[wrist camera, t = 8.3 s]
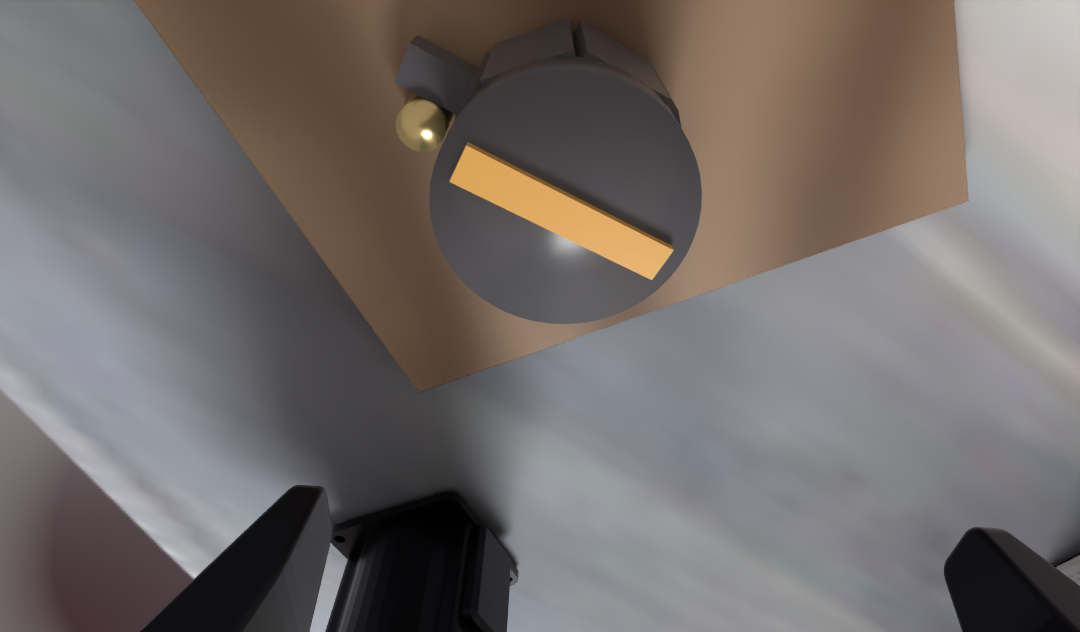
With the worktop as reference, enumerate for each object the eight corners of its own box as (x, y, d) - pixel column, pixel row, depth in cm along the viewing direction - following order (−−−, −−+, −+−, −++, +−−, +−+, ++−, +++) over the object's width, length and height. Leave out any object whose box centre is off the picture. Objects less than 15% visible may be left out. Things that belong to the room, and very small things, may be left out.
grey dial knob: (706, 91, 16) (762, 162, 12) (597, 257, 19) (610, 364, 14) (452, -59, 14) (409, -40, 10) (373, 148, 17) (312, 233, 13)
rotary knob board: (423, 374, 23) (394, 480, 19) (145, -21, 16) (0, 9, 12) (949, 187, 18) (1064, 271, 14) (890, -474, 11) (1082, -685, 7)
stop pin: (422, 138, 17) (411, 159, 16) (399, 97, 16) (386, 115, 15) (462, 121, 17) (454, 140, 15) (440, 78, 16) (429, 94, 15)
